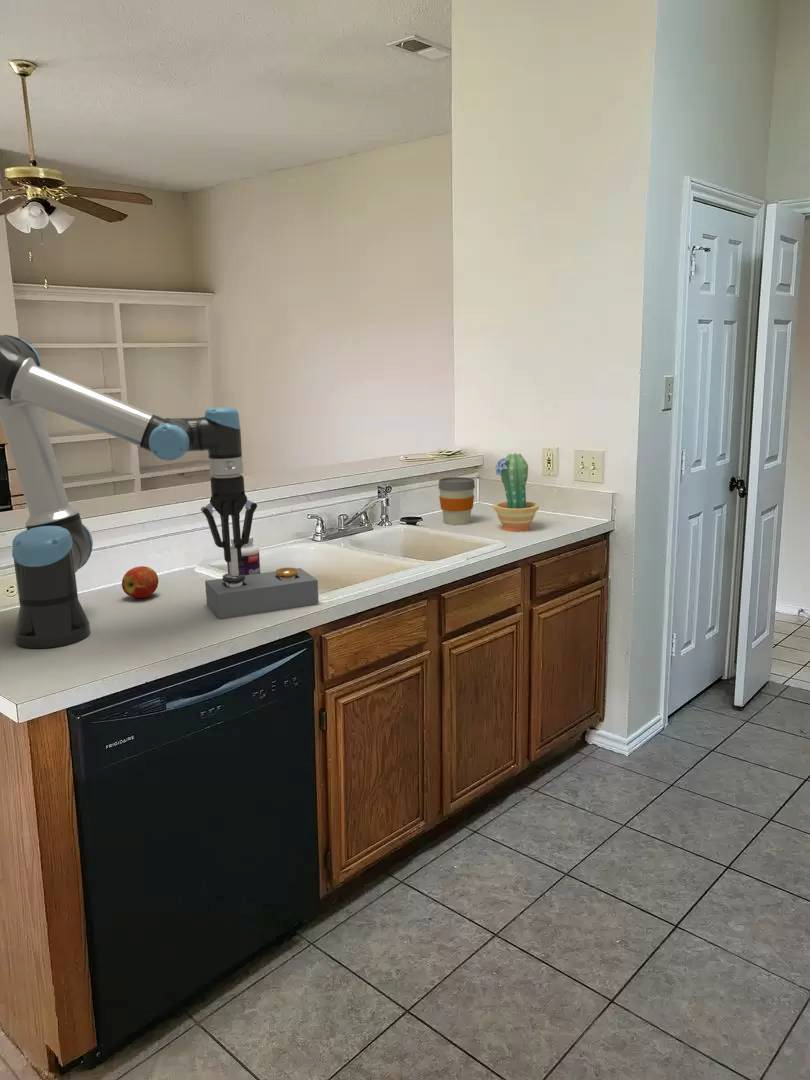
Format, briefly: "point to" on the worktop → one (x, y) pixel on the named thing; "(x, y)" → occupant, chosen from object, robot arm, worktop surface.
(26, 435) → the robot arm
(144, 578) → the apple
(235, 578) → the knob left
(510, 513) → the potted cactus
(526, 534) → the worktop surface
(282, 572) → the orange capped vial
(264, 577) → the grey vial holder
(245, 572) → the pill bottle
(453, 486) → the reusable coffee cup
